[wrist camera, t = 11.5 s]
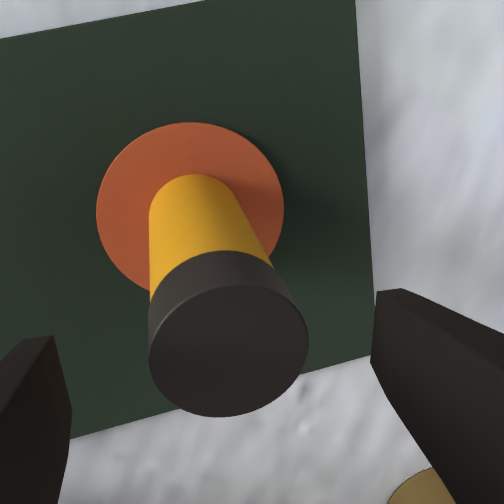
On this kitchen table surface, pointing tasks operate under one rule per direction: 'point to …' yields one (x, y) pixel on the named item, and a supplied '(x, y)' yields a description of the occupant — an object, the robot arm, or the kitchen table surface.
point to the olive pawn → (422, 490)
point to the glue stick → (217, 305)
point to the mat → (173, 166)
